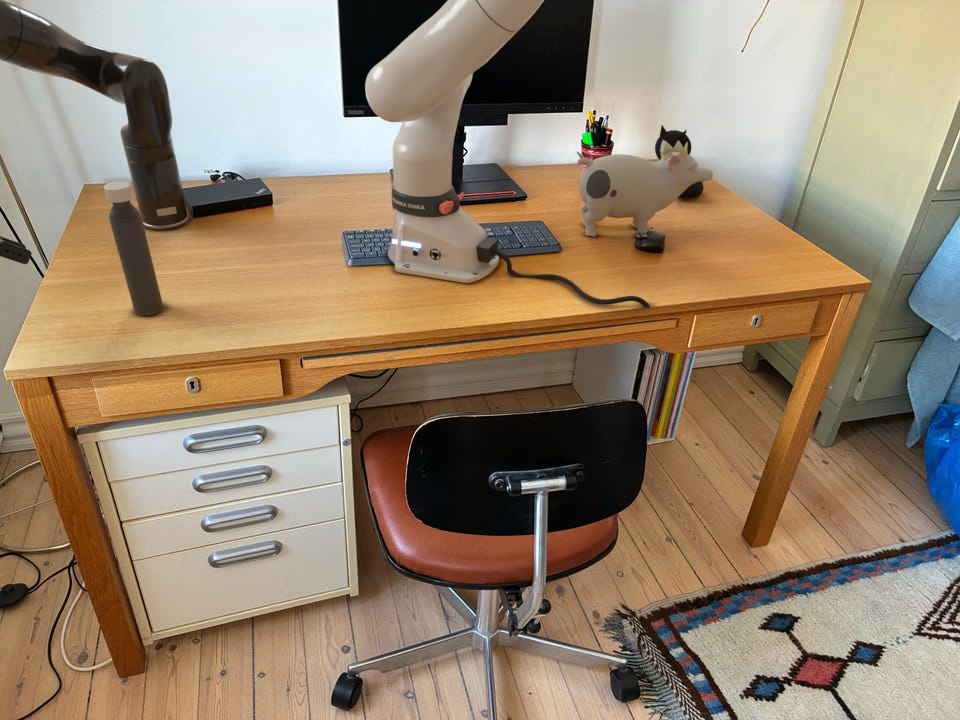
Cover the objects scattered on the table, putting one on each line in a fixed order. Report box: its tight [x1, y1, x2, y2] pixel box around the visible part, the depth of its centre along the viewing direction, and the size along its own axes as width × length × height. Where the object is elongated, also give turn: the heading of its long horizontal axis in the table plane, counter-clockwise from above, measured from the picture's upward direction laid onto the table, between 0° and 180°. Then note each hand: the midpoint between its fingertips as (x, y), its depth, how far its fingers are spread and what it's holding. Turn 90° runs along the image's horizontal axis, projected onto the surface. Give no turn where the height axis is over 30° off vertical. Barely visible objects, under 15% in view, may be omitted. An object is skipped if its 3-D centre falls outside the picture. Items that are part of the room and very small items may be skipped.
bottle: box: [108, 200, 165, 317], centre depth 116 cm, size 5×5×22 cm
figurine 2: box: [654, 124, 705, 200], centre depth 175 cm, size 16×14×15 cm
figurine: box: [576, 140, 714, 239], centre depth 151 cm, size 10×29×20 cm, turn 89°
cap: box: [103, 180, 134, 203], centre depth 111 cm, size 4×4×2 cm
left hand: (26, 255), depth 110 cm, fingers open, 8 cm apart
